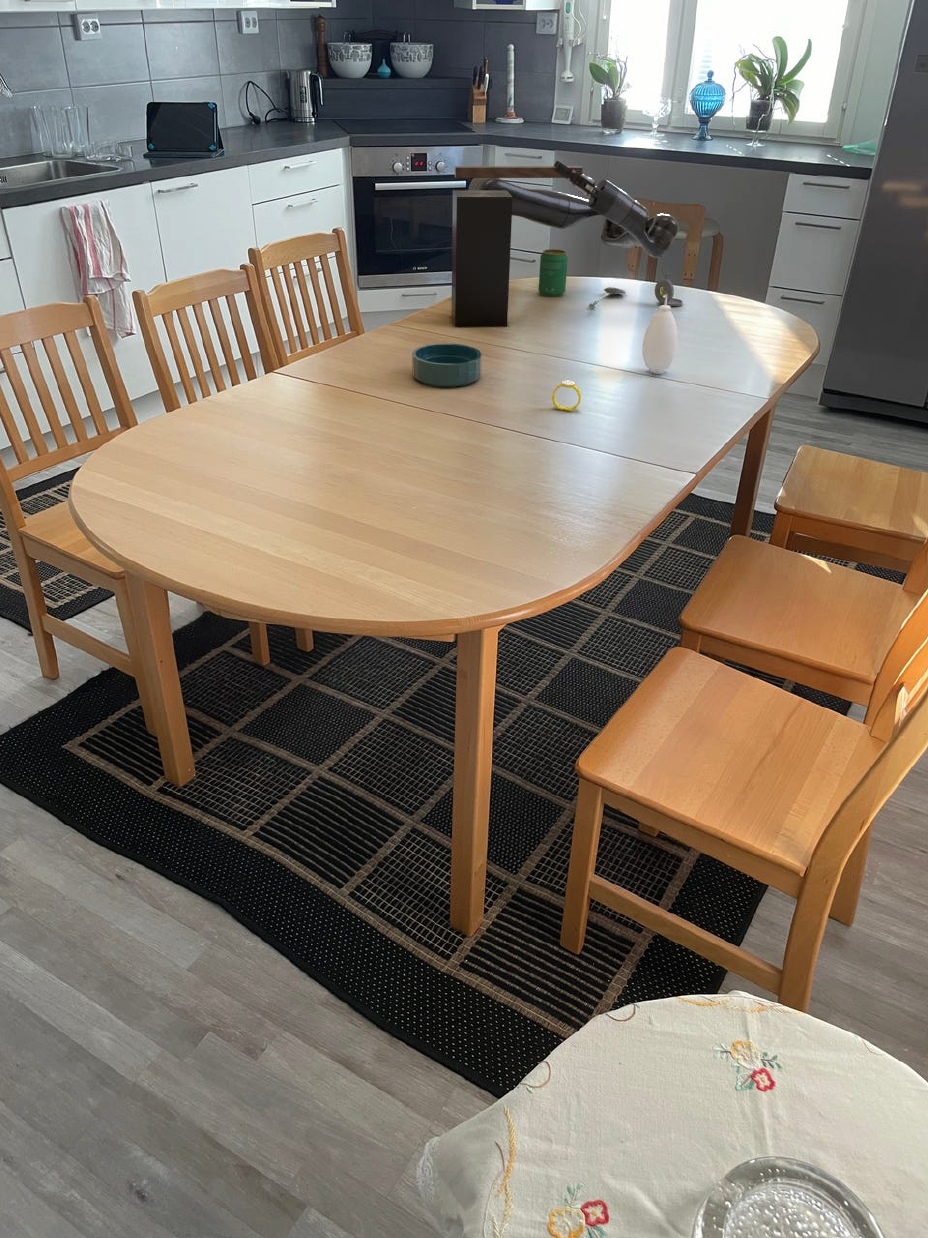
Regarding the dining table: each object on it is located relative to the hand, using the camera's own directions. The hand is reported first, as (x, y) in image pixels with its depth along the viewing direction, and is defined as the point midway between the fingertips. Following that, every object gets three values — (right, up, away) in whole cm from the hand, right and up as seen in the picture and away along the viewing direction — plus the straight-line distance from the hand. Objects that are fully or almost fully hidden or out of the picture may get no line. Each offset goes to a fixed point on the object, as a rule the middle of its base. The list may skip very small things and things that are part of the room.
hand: (556, 164), depth 236 cm
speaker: (-19, -33, +19) cm, 43 cm away
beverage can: (+3, -17, +46) cm, 49 cm away
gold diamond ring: (-2, -70, -36) cm, 79 cm away
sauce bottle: (+22, -56, -15) cm, 62 cm away
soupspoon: (+18, -21, +40) cm, 49 cm away
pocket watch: (+36, -23, +38) cm, 57 cm away
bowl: (-27, -59, -20) cm, 68 cm away
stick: (-9, -2, 0) cm, 10 cm away
